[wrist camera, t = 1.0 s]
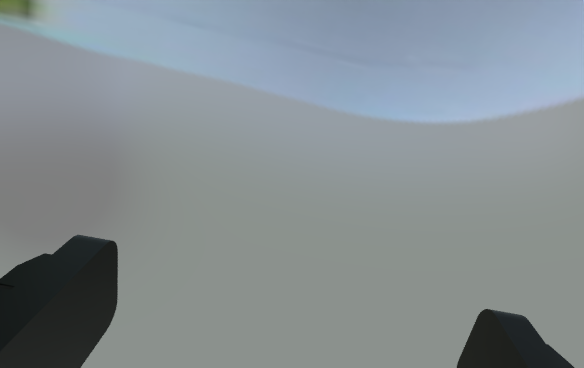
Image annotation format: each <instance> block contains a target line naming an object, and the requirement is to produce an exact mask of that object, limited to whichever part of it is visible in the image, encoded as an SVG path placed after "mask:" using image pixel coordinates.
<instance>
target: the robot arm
mask: <svg viewBox="0 0 584 368" xmlns="http://www.w3.org/2000/svg"><path fill="white" fill-rule="evenodd" d="M117 267H118V252H117V245H116V243H115V242H114V241H110V240H105V239H99V238H94V237H88V236H83V235H77V236H74V237H73V238H71V239H70V240H69V241H68V242H66V243H65V244H64V245H63V246H62V247H61V248H59V249H58V250H57V251H56V252H55V253H54V254H52V255H51V254H42V255H40V256H38V257H35V258H33V259H31V260H29V261H26V262H24V263H22V264H20V265H17V266H16V267H15V268H13V269H12V270H11V271H10V272H8V273H7V274H6V275H4V276H3V277H2V278H1V279H0V368H81V366H82V364H83V363H84V362H85V360H86V359H87V357H88V356H89V354H90V353H91V352H92V350H93V349H94V348H95V346H96V345H97V343H98V342H99V340H100V339H101V338H102V336H103V335H104V333H105V332H106V330H107V328H108V327H109V325H110V323H111V321H112V319H113V316H114V313H115V310H116V305H117V277H118V276H117V275H118V269H117ZM457 368H574V367H573V366H572V365H571V364H570V363H569V362H568V361H566V360H565V359H564V358H563V357H562V356H561V355H560V354H558V353H557V352H556V351H555V350H554V349H553V348H552V347H550V346H549V345H547V344H545V342H544V341H543V339H542V338H541V337H540V335H539V334H538V333H537V331H536V330H535V328H534V327H533V326H532V324H531V323H530V322H529V320H527V318H526V317H524V316H522V315H517V314H511V313H506V312H501V311H495V310H490V309H485V310H483V311H482V312H480V314H479V315H478V318H477V320H476V322H475V324H474V326H473V329H472V331H471V333H470V336H469V338H468V340H467V342H466V345H465V347H464V349H463V352H462V354H461V356H460V359H459V361H458V365H457Z"/></svg>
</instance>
